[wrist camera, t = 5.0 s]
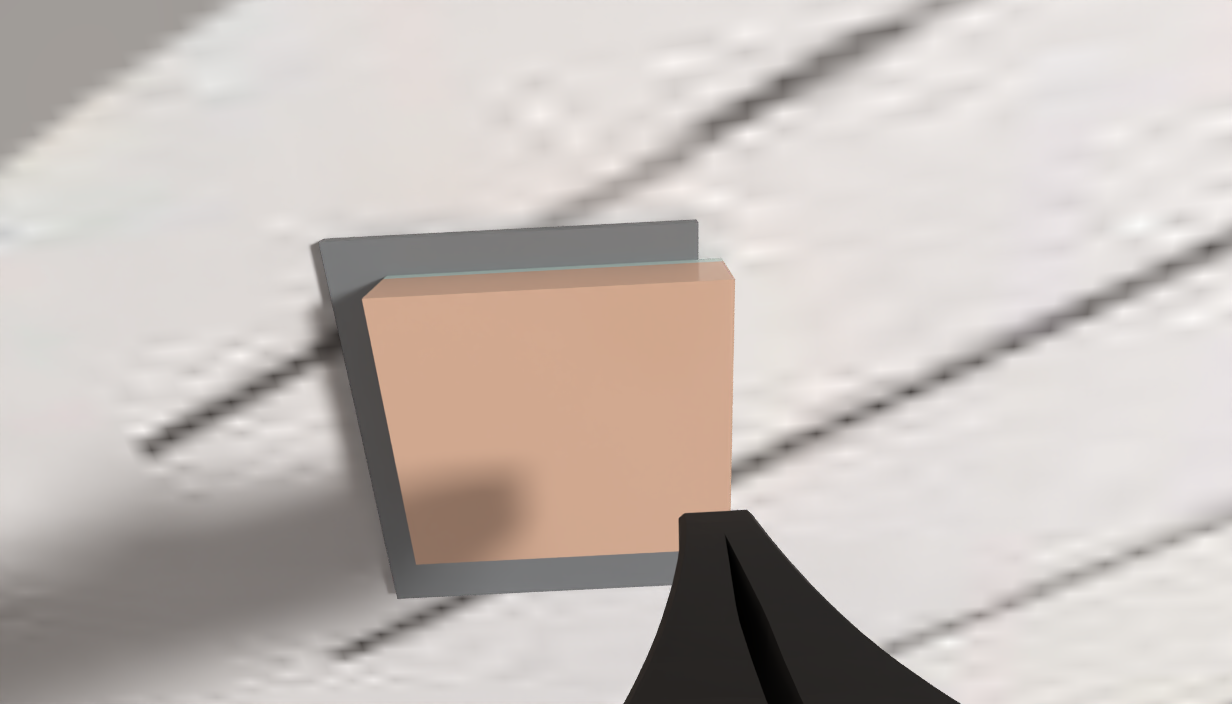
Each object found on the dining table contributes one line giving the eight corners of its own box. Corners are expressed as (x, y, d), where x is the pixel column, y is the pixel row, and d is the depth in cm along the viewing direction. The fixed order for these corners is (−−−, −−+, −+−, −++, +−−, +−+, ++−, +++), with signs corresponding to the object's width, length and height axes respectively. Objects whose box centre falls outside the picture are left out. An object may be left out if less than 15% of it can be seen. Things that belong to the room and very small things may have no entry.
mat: (697, 575, 22) (698, 583, 22) (400, 590, 23) (397, 598, 22) (696, 219, 18) (698, 222, 18) (324, 238, 18) (318, 242, 18)
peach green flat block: (729, 548, 19) (415, 564, 19) (718, 507, 21) (432, 521, 21) (735, 279, 16) (362, 298, 16) (721, 258, 18) (386, 276, 18)
